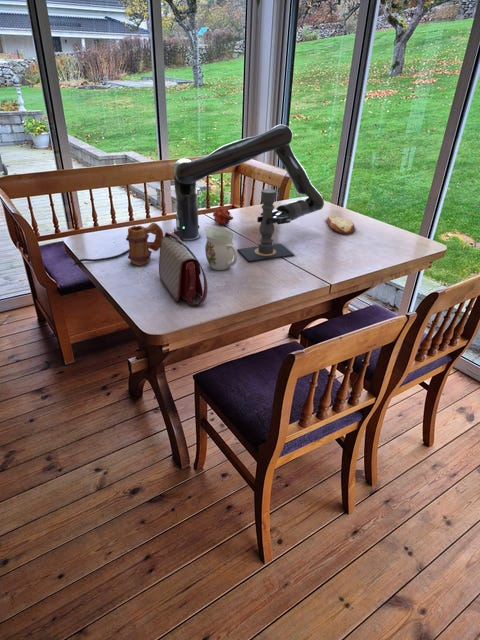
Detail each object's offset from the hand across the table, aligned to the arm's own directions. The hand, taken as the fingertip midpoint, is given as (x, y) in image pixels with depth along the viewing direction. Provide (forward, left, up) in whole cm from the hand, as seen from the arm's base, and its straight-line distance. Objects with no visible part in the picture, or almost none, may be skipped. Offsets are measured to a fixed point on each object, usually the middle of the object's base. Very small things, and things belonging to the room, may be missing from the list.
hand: (262, 221), depth 179 cm
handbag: (-38, -20, -15) cm, 46 cm away
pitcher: (-20, -6, -15) cm, 25 cm away
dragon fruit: (-1, +43, -15) cm, 45 cm away
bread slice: (+50, +20, -14) cm, 55 cm away
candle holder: (+3, +1, -14) cm, 14 cm away
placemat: (+2, +1, -14) cm, 15 cm away
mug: (-45, +9, -15) cm, 49 cm away
